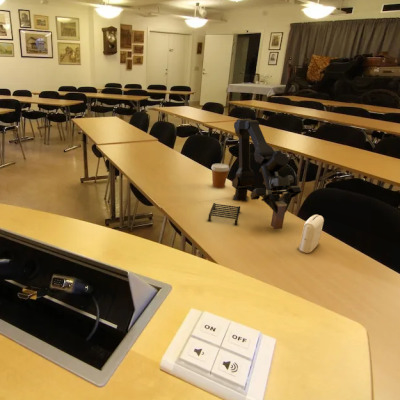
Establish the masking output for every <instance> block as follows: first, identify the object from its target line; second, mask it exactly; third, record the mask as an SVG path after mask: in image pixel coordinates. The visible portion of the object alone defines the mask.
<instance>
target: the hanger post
mask: <svg viewBox="0 0 400 400" xmlns="http://www.w3.org/2000/svg"><path fill="white" fill-rule="evenodd" d="M275 203H276V207H277V211H278V213H275V212H274V211H273V210H272V215H271V220H270V227H271V228H272V229H273V230H281V229H283V227H284V226H283V225H284V220H285V215H286V212H287V210H286V206H287V207H288V203H287V204H285V203H284V202H283V201H279V200H277V201H275ZM285 211H286V212H285Z"/></svg>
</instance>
